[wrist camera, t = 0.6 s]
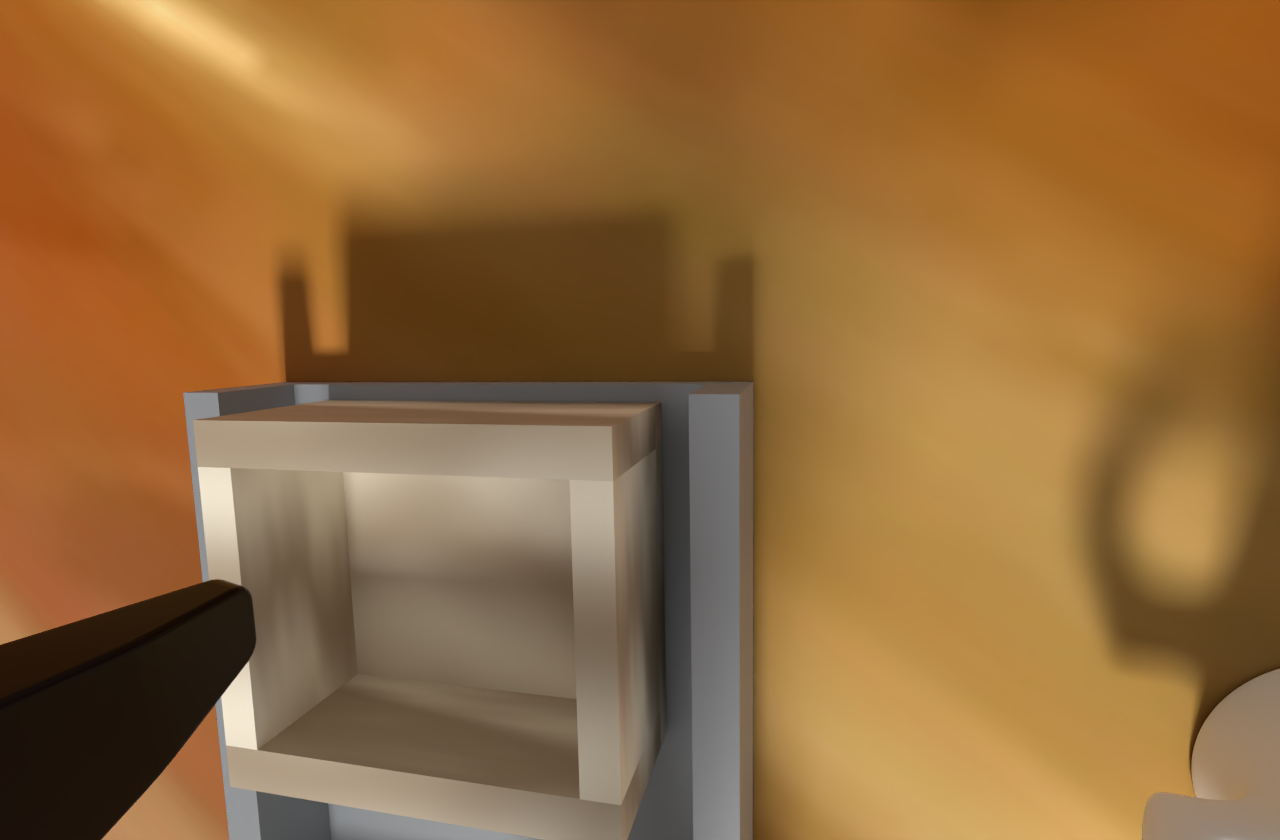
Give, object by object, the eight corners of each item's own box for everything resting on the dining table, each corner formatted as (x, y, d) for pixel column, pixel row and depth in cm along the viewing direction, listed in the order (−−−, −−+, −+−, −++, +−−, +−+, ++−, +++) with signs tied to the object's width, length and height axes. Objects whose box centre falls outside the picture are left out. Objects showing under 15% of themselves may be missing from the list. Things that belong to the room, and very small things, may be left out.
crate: (666, 732, 21) (622, 853, 16) (349, 693, 24) (230, 786, 19) (661, 401, 20) (611, 426, 15) (326, 400, 22) (192, 420, 17)
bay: (752, 995, 23) (740, 1132, 19) (329, 906, 26) (246, 1004, 23) (753, 381, 20) (739, 394, 16) (284, 381, 24) (183, 392, 20)
